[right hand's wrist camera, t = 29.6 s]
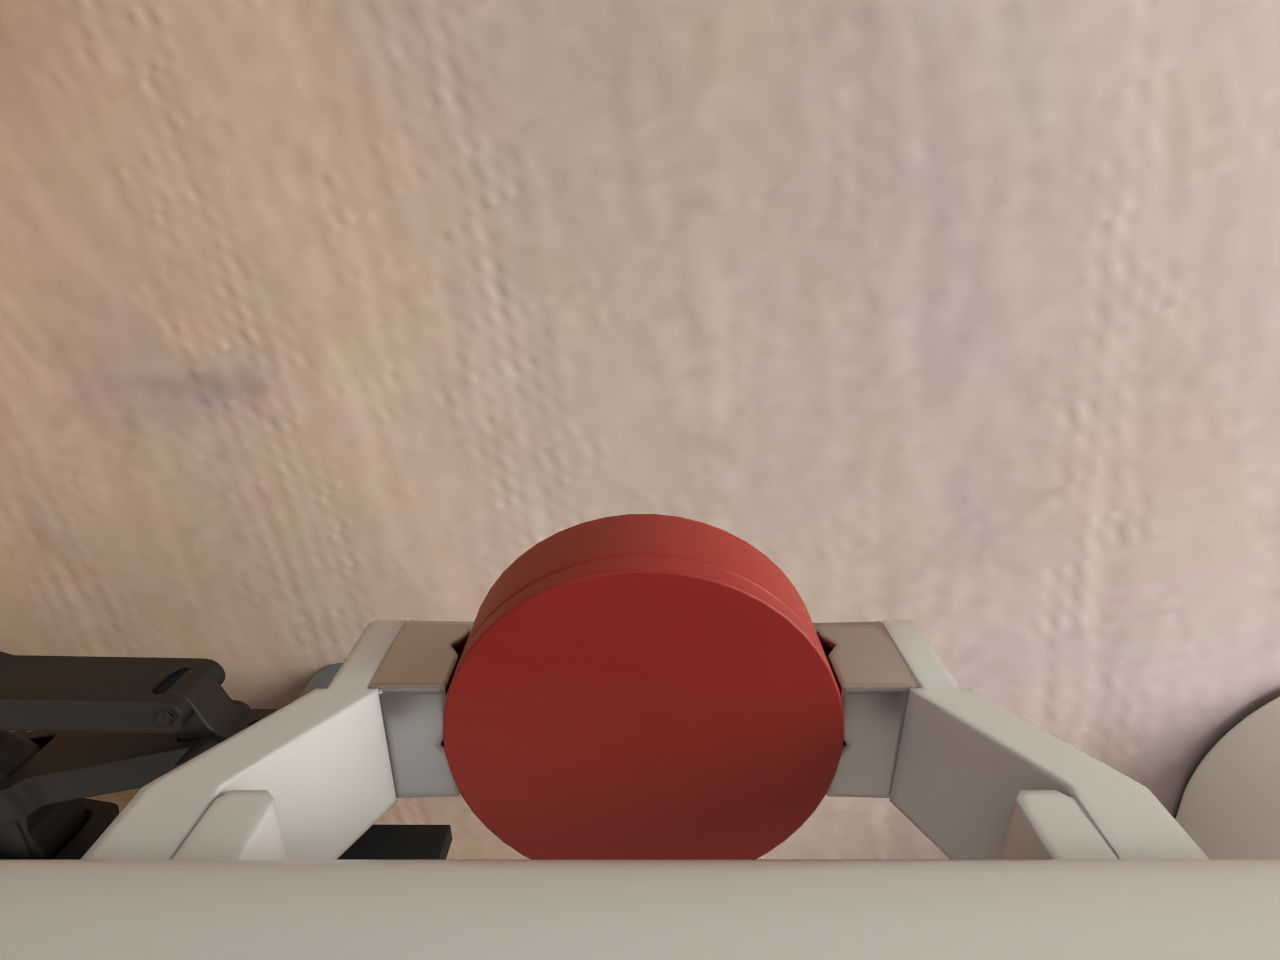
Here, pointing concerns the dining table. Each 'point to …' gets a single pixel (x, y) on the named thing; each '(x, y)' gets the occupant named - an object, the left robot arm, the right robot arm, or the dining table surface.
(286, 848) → the right robot arm
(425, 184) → the dining table surface
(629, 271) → the dining table surface
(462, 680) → the lid
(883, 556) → the dining table surface
